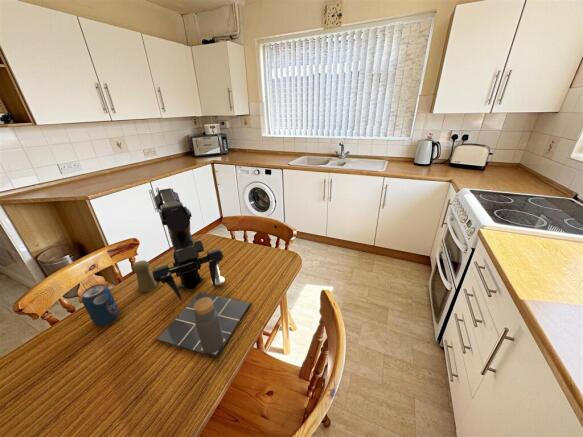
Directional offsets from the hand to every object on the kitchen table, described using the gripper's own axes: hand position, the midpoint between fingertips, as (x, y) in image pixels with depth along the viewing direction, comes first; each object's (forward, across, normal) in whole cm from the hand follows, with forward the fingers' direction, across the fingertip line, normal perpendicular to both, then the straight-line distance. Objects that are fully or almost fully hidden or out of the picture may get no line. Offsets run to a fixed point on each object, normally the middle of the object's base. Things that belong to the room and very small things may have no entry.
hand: (198, 293), depth 67 cm
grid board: (+8, +1, +11) cm, 14 cm away
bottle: (+14, 0, +4) cm, 15 cm away
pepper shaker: (-12, -14, +32) cm, 37 cm away
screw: (-2, +9, +22) cm, 24 cm away
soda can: (-5, -26, +24) cm, 36 cm away
